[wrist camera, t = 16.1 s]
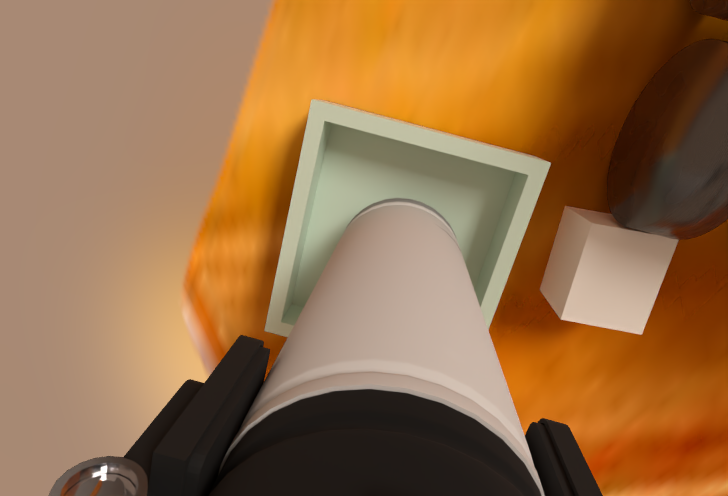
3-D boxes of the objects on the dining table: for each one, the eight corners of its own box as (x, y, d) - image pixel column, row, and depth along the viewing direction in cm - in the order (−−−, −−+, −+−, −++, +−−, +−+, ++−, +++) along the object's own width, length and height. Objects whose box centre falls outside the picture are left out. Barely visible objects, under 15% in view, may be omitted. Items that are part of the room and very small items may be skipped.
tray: (461, 357, 28) (466, 386, 26) (278, 308, 29) (264, 331, 26) (534, 156, 25) (551, 162, 22) (322, 99, 25) (311, 99, 22)
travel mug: (481, 217, 23) (786, 695, 4) (430, 326, 25) (488, 976, 6) (366, 172, 23) (168, 464, 4) (324, 285, 25) (64, 823, 6)
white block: (608, 301, 27) (641, 334, 23) (539, 289, 27) (560, 319, 23) (638, 218, 25) (679, 238, 21) (564, 205, 25) (591, 223, 21)
